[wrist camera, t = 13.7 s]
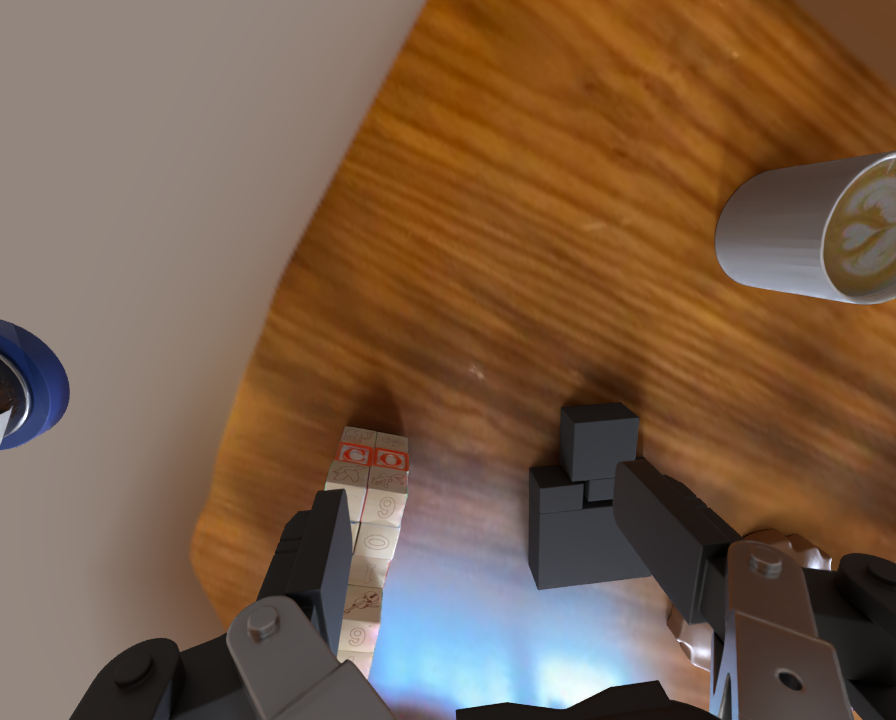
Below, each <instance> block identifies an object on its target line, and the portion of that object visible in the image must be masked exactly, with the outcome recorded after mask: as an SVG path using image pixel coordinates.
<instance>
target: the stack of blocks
mask: <svg viewBox="0 0 896 720" xmlns="http://www.w3.org/2000/svg"><path fill="white" fill-rule="evenodd" d="M408 473H409V450H408V438H407V437H402V436H397V435H392V434H386V433H381V432H376V431H372V430H366V429H360V428H355V427H347V426H345V427H344V430H343V433H342V437H341V440H340V442H339V445H338V448H337V451H336V454H335V458H334V461H332V463H331V466H330V469H329V472H328V475H327V479H326V483H325V487H324V490H333V489H343V488H344V489H345V490H346V494H347V501H348V508H349V516H350V523H351V530H352V542H353V550H352V561H351V567H350V574H349V580H348V587H347V594H346V600H345V607H344V614H343V620H342V627H341V633H340V640H339V647H338V653H337V659H338V660H339V662H341V663H342V662H344V661H345V660H346V659H349V660H351V661H352V662H353V663H354V664H355V665H356V666H357V667H358V668H359V670H360V671H361V672H362V674H363V675H364V676H365V678H366V679H367V680H368V677H369V672H370V668H371V664H372V660H373V654H374V650H375V645H376V641H377V637H378V633H379V629H380V625H381V611H382V597H383V588H384V584H385V580H386V577H387V573H388V569H389V565H390V562H391V559H392V558H393V555H394V551H395V548H396V544H397V540H398V537H399V533H400V529H401V519H402V515H403V511H404V508H405V504H406V500H407V496H408Z"/></svg>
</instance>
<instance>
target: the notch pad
mask: <svg viewBox="0 0 896 720" xmlns="http://www.w3.org/2000/svg"><path fill="white" fill-rule="evenodd" d="M635 460H646V459H645V458H644V457H639V458H635ZM646 461H647V460H646ZM656 470H657V469H656ZM657 471H658V470H657ZM658 472H659V471H658ZM659 473H660V472H659ZM583 486H584V484H583V482H582V481H571V479H570V478H569V476H568V475H567V473H566V472H565V470H564V468H563V467H562V465H558V466H547V467H537V468H530V469H529V492H530V493H529V567H530V570H531V572H532V575H533V578H534V580H535V583H536V586H537V588H538V590H543V589H551V588H559V587H567V586H575V585H583V584H591V583H600V582H608V581H616V580H624V579H632V578H640V577H648V576H651V572H650V571H649V570H648V568H647V567H646V565H645V564H644V563H643V561H642V560H641V559H640V557H639V556H638V554H637V553H636V552H635V550H634V549H633V547H632V546H631V545H630V543H629V542H628V541H627V539H626V538H625V536H624V535H623V534H622V532H621V531H620V530H619V528H618V526H617V524H616V522H615V519H614V515H613V499H607V500H598V501H588V500H587V498H586V497H585V495H584V494H583Z"/></svg>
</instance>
